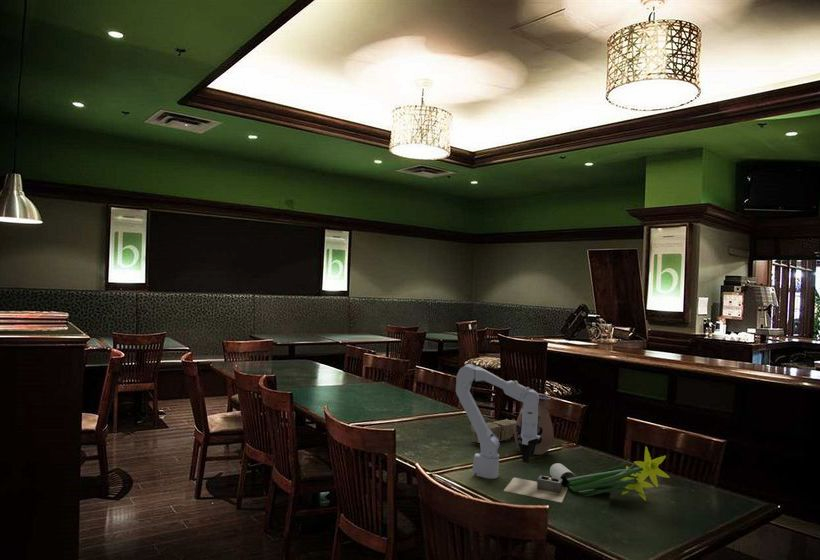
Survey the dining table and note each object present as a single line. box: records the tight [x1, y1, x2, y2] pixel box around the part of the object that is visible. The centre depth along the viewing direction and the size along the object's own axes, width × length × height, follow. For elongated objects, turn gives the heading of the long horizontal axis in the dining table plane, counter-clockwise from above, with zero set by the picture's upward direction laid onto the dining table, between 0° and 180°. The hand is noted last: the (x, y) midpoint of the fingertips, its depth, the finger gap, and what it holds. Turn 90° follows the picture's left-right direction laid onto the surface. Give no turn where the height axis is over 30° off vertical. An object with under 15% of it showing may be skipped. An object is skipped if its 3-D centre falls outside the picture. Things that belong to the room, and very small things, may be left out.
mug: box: [549, 462, 577, 480], centre depth 209 cm, size 10×7×12 cm
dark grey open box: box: [536, 474, 563, 493], centre depth 199 cm, size 8×5×4 cm, turn 66°
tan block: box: [470, 418, 517, 444], centre depth 267 cm, size 8×8×29 cm
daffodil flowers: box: [566, 446, 670, 502], centre depth 198 cm, size 17×15×35 cm
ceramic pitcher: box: [513, 394, 555, 456], centre depth 251 cm, size 18×21×25 cm
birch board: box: [503, 477, 569, 503], centre depth 198 cm, size 20×16×2 cm
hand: (527, 459), depth 206 cm, fingers open, 7 cm apart
